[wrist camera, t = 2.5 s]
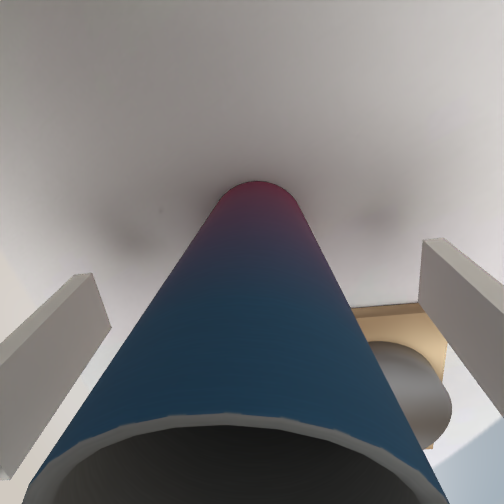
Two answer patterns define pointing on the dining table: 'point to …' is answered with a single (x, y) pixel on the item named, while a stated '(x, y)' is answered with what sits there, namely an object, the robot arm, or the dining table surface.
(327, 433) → the cup
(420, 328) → the stand board
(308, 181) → the dining table surface
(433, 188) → the dining table surface
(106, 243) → the dining table surface
